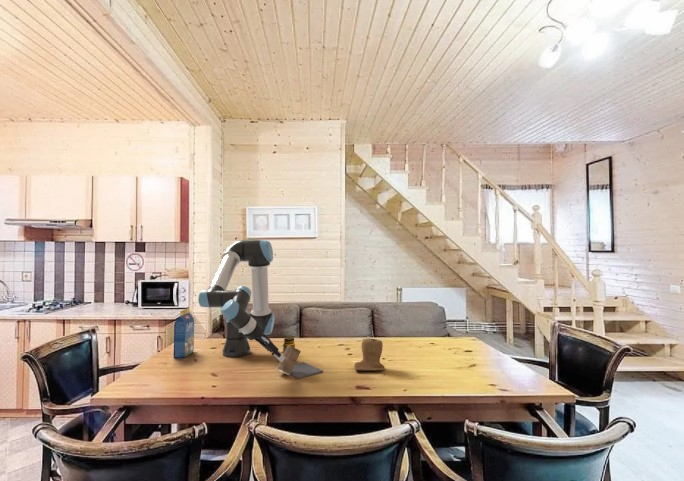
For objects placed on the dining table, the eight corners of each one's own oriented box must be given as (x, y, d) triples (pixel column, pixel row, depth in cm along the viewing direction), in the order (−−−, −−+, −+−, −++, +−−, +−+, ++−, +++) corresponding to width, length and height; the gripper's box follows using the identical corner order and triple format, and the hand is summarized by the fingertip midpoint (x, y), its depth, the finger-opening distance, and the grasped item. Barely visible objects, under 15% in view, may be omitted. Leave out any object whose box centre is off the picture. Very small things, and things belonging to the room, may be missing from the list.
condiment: (297, 361, 187) (297, 338, 187) (282, 364, 182) (282, 340, 183) (291, 358, 193) (291, 335, 193) (276, 360, 188) (277, 337, 189)
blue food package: (173, 358, 191) (174, 311, 192) (182, 351, 203) (183, 307, 204) (184, 358, 191) (185, 311, 192) (193, 351, 203) (194, 307, 204)
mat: (279, 368, 175) (279, 367, 175) (303, 363, 184) (303, 361, 184) (298, 378, 162) (298, 376, 162) (323, 372, 171) (323, 370, 171)
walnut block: (276, 369, 167) (287, 344, 171) (284, 372, 170) (295, 348, 174) (281, 372, 163) (293, 347, 167) (289, 375, 166) (300, 351, 170)
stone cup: (382, 365, 182) (382, 335, 183) (385, 373, 170) (386, 341, 171) (353, 365, 182) (353, 335, 182) (354, 373, 170) (354, 341, 170)
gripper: (238, 332, 159) (271, 362, 169) (251, 338, 149) (285, 370, 159) (249, 319, 163) (281, 349, 173) (262, 323, 153) (295, 356, 163)
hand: (283, 359), depth 166 cm, fingers closed
